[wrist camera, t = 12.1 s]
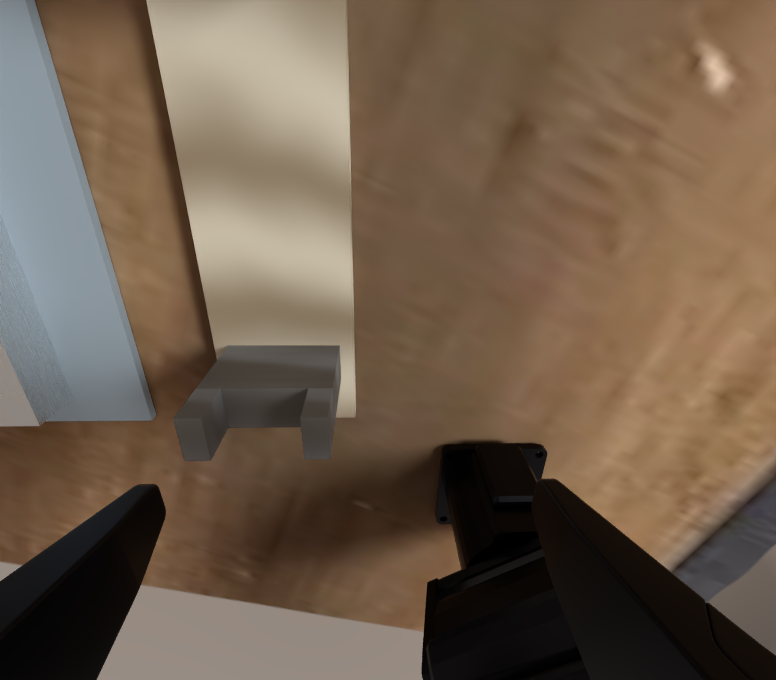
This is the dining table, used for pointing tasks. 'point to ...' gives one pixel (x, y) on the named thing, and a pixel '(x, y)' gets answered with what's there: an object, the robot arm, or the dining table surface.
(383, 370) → the dining table surface
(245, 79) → the rail stand
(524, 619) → the robot arm
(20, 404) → the rail
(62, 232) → the mat
